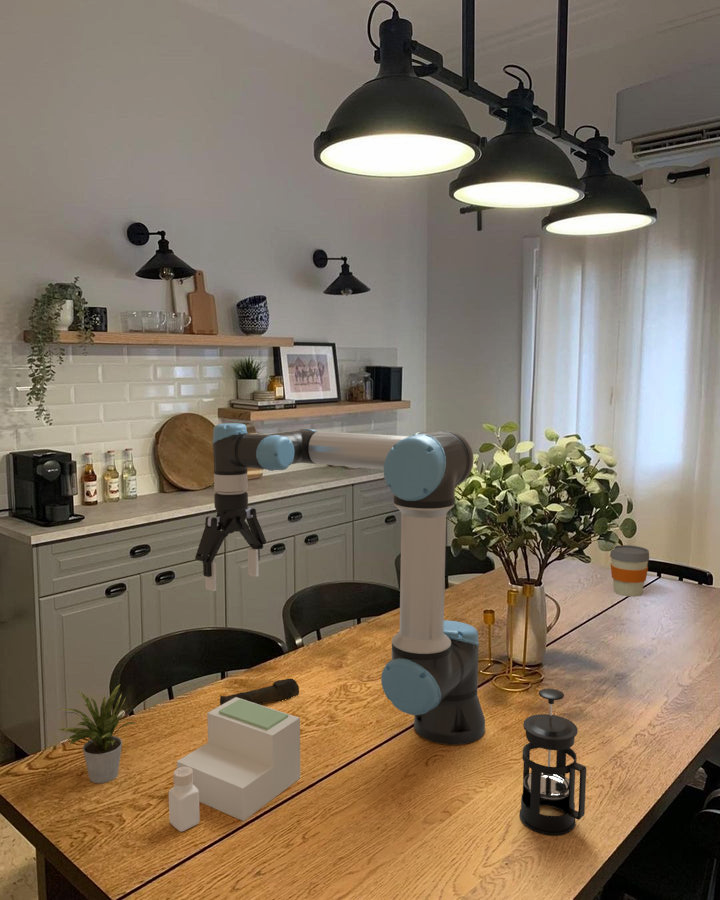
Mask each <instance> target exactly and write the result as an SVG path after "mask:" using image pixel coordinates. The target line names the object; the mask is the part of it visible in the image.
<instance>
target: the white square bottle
mask: <svg viewBox="0 0 720 900" xmlns="http://www.w3.org/2000/svg"><path fill="white" fill-rule="evenodd" d="M172 777H173V787H171V789H169V791H168V812H169V813H168V814H169V815H168V817H169V819H168V820H169V823H170V825H171V826H173V827H174V828H175V829H176V830H178V831H179V832H185V831H186V830H188V829H190V828H192V827H195V826H196V825H198V824H199V823H200V821H201V820H200V819H201V818H200V802H199V791H198V789H197V788H196V787H195V786H194V785H193V770H192V768H190V767H180V768H177V767H176V769H174V772H173V776H172Z"/></svg>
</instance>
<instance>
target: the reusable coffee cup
mask: <svg viewBox="0 0 720 900" xmlns="http://www.w3.org/2000/svg"><path fill="white" fill-rule="evenodd" d="M621 545H622V544H619V545H615V546H616V547H615V549H614V550H612V551H611V550H610V555H609V557H610V559H611V563H610V572H611V573H610V574H611V578H612V581H613V592H614V593H615V594H617V595H620V596H624V597H630V598H631V597H640V596H642V595H643V589H644V586H645V581H646V580H647V575H648V570H649V566H648V563H649V560H650V552H649V549H647V548H645V547H642V546H639V545H638V546H637V545H628V544H623V546H621Z"/></svg>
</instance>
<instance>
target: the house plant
mask: <svg viewBox="0 0 720 900" xmlns="http://www.w3.org/2000/svg"><path fill="white" fill-rule="evenodd" d="M120 686H121V683H118V685H116V686H115V688H114V689H113V691H112V692H111V694H110V696H109V697H108V699H107V701H106V696H104V697H103V698H102V702H101V706H100V712H99V709H98V705H97V702H96V700H95V699H93V697H90V696H86V695H85V694H84V693H82V692H80V691H77V693H78V694H79V695H80V696H81V697H82V698H83V700H84V701H85V703H84V706H86V707H87V708H88V711H89V713H90V714H91V717H92V718H93V720H92V719H91V718H90V717H89V716H87V715H86V714H85V713H83V712H82V711H80V710H79V709H75V708H60V709H57V710H59V711H60V710H61V711H67V712H66V714H69V713H70V714H75V715H77V716H79V719H81V720H82V721H81V722H78V724H77V726H83V727H84V726H85V727H86V728H83V727H82V728H81V727H65V728H59V729H58V730H60V731H62V732H63V731H64V732H66V733H70V734H71V733H72V735H70V737H69V738H67V741H69V740H70V742H69V744H68V747H70V746H71V745H73V744H74V743H76V742H78V741H79V740H82V739H83V740H86V741H87V742H85V744H84V745H83V746H82V751H83V756H84V760H85V764H86V770H87V773H88V778H89V781H91V782H92V783H94V784H105V782H106V783H108V782H112V781H114V780H115V779H116V778H117V777H118V775H119V767H120V760H121V755H122V748H123V747H122V746H123V740H122V739H121V738H120V737H118V736H115V735H116V733H117V732H118V731H119V730H120V729H122V728H124V727H125V726H127V725H130V724H135V725H136V723H135V722H134V721H128V722H126V723H124V724H123V725H120V726H119V728H118V729H117V730H116V731H115V729H116V728H117V726H118V725H119V723H120V722H119V721H120V718H122V716H123V715H124V714H125V712H127V711H128V710H129V709H130V707H129V708H127V709H126V710H124V711H123V712H122V713H121V714H120V712H121V710H122V708H123V707H124V706H123V705H124V703H125V701H126V699H127V696H125V697H124V699H123V701H122V702H121V704H120V701H121V698H122V696H123V695H122V692H121V693H120V695H119V697H118V698H117V701H116V703H115V706H114V702H115V699H116V696H117V694H118V692H119V688H120ZM91 702H92V703H91ZM92 704H93V705H92ZM119 704H120V706H119ZM113 706H114V708H113ZM93 707H94V708H93ZM117 709H118V710H117ZM79 714H80V715H79ZM73 719H77V717H75V718H73ZM111 780H112V781H111Z"/></svg>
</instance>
